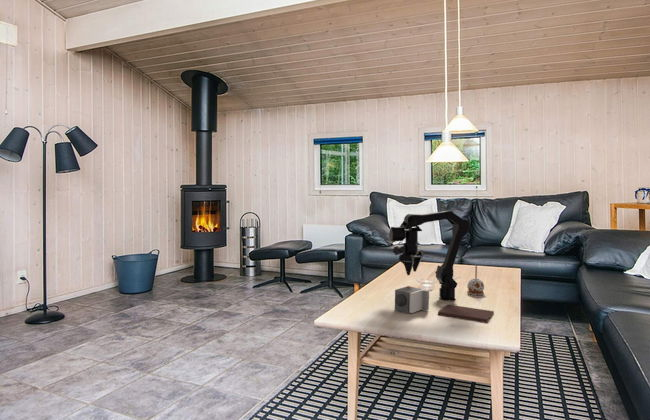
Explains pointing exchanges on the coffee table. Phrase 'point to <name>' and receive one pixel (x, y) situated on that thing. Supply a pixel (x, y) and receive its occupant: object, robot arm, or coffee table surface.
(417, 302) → the door
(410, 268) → the robot arm
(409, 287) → the block
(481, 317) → the notebook
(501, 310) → the coffee table surface
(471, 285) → the decorative ornament
